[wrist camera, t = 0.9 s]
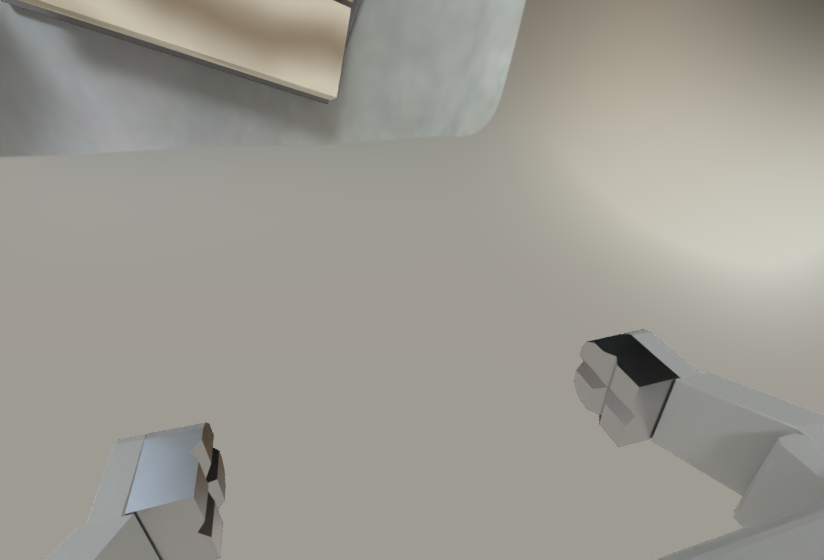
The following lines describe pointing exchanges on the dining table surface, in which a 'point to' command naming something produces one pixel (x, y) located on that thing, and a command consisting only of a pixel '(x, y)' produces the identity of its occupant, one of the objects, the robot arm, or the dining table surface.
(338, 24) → the ash plank
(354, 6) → the board
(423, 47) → the dining table surface
